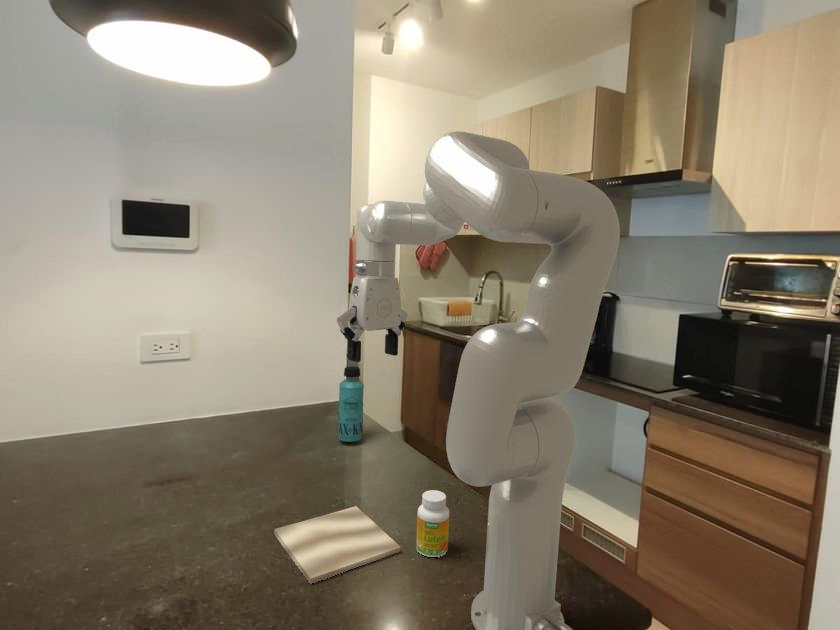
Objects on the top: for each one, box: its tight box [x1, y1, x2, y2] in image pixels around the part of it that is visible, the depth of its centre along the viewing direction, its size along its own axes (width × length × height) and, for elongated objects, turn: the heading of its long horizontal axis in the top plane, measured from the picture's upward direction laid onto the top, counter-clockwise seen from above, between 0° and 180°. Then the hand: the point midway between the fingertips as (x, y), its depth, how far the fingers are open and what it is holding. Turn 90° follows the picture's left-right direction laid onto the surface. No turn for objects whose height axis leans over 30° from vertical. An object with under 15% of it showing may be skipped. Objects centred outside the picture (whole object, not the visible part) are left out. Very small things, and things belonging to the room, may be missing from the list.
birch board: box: [273, 505, 402, 585], centre depth 88 cm, size 16×16×1 cm
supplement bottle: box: [415, 489, 450, 558], centre depth 87 cm, size 5×5×10 cm
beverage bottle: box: [337, 366, 365, 442], centre depth 133 cm, size 6×7×20 cm
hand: (373, 357), depth 102 cm, fingers open, 9 cm apart
